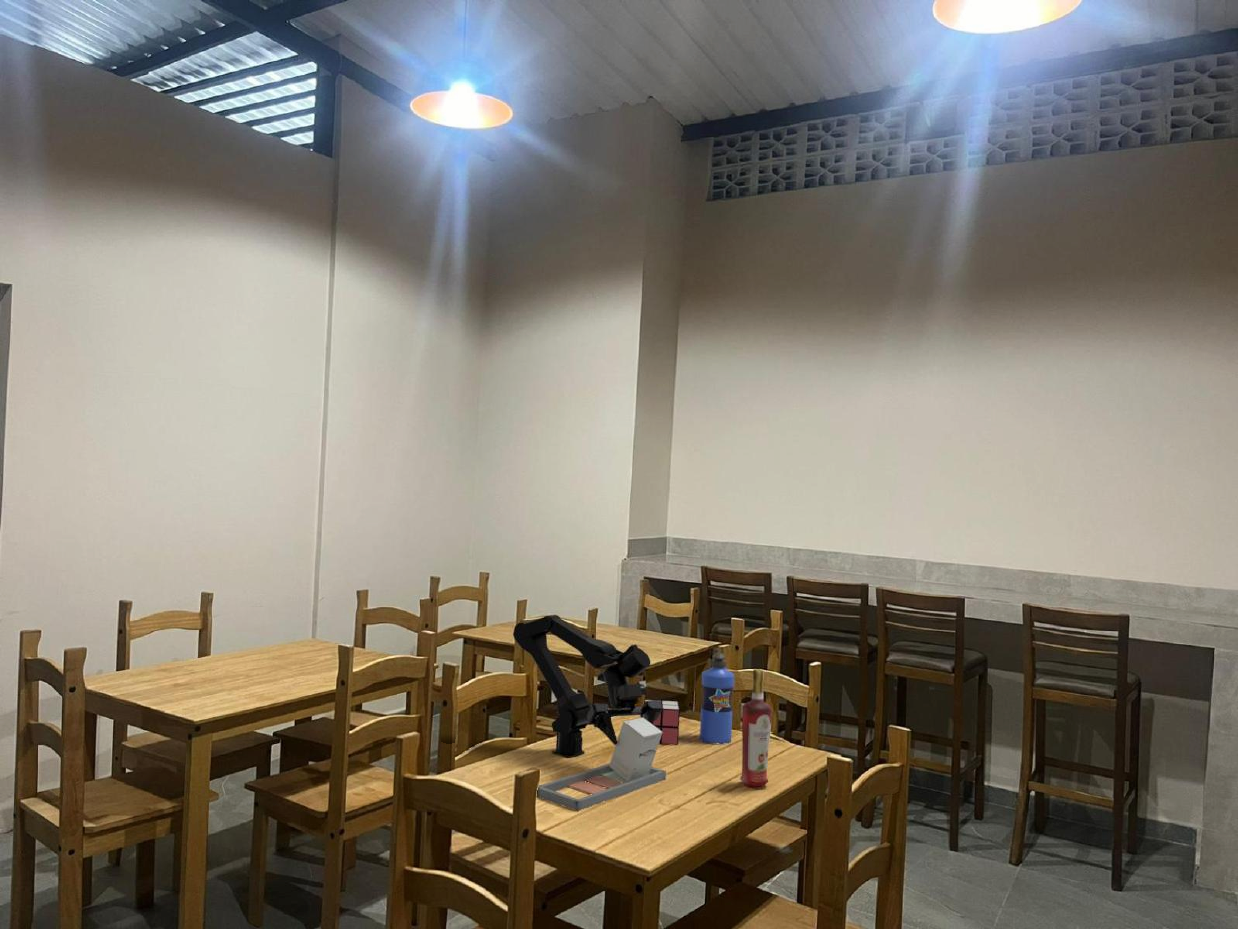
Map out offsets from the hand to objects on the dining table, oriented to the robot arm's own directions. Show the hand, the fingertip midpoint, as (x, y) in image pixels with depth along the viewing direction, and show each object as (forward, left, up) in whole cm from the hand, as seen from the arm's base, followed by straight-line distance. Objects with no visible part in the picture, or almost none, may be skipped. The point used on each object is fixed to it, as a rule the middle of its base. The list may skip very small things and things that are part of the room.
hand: (633, 743), depth 220 cm
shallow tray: (-1, -9, -9) cm, 13 cm away
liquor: (+23, +20, -9) cm, 31 cm away
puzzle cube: (-17, +35, -9) cm, 40 cm away
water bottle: (-6, +47, -9) cm, 48 cm away
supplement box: (-2, 0, -8) cm, 8 cm away
